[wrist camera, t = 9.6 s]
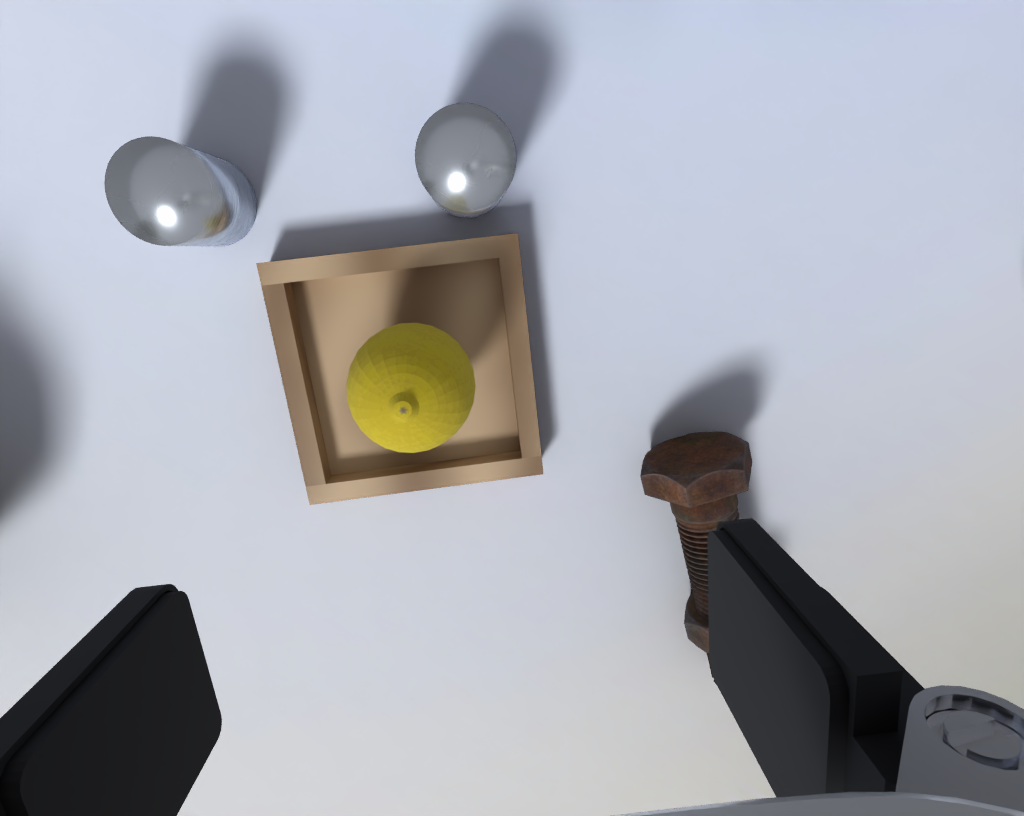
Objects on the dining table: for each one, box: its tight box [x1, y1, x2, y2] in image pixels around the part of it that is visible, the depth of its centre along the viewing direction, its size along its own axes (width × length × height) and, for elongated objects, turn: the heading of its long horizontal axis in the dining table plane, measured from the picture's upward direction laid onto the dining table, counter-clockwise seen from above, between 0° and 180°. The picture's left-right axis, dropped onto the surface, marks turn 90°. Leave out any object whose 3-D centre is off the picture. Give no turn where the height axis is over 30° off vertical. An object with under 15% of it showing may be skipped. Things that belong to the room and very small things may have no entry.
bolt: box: [641, 432, 752, 685], centre depth 33 cm, size 6×5×15 cm
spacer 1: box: [105, 137, 257, 246], centre depth 25 cm, size 4×4×5 cm
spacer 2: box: [415, 103, 516, 218], centre depth 26 cm, size 4×4×5 cm
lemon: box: [346, 323, 476, 453], centre depth 26 cm, size 6×6×8 cm
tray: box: [256, 233, 543, 505], centre depth 30 cm, size 12×12×2 cm
